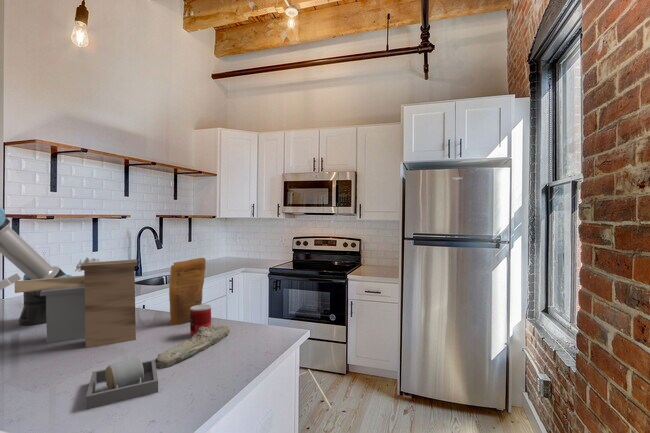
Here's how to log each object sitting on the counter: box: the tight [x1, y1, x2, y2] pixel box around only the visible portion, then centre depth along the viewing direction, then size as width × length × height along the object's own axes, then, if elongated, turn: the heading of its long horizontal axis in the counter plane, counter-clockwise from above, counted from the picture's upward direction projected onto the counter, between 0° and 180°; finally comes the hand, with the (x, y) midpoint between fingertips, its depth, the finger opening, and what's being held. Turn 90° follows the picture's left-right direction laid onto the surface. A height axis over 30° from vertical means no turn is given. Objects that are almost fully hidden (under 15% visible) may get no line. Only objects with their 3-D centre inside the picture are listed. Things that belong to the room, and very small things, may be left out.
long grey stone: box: [154, 325, 231, 369], centre depth 124 cm, size 35×5×10 cm
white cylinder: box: [105, 355, 145, 390], centre depth 94 cm, size 11×8×8 cm
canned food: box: [189, 304, 212, 337], centre depth 138 cm, size 8×8×11 cm
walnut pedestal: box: [79, 258, 138, 349], centre depth 133 cm, size 11×18×30 cm, turn 119°
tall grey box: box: [40, 286, 86, 345], centre depth 138 cm, size 10×20×20 cm, turn 119°
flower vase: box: [74, 257, 100, 273], centre depth 197 cm, size 13×18×25 cm
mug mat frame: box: [85, 359, 159, 410], centre depth 95 cm, size 16×16×3 cm
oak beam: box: [14, 274, 85, 294], centre depth 137 cm, size 6×30×5 cm, turn 119°
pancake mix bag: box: [168, 257, 207, 326], centre depth 156 cm, size 7×19×28 cm, turn 144°
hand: (14, 278), depth 129 cm, fingers open, 13 cm apart
